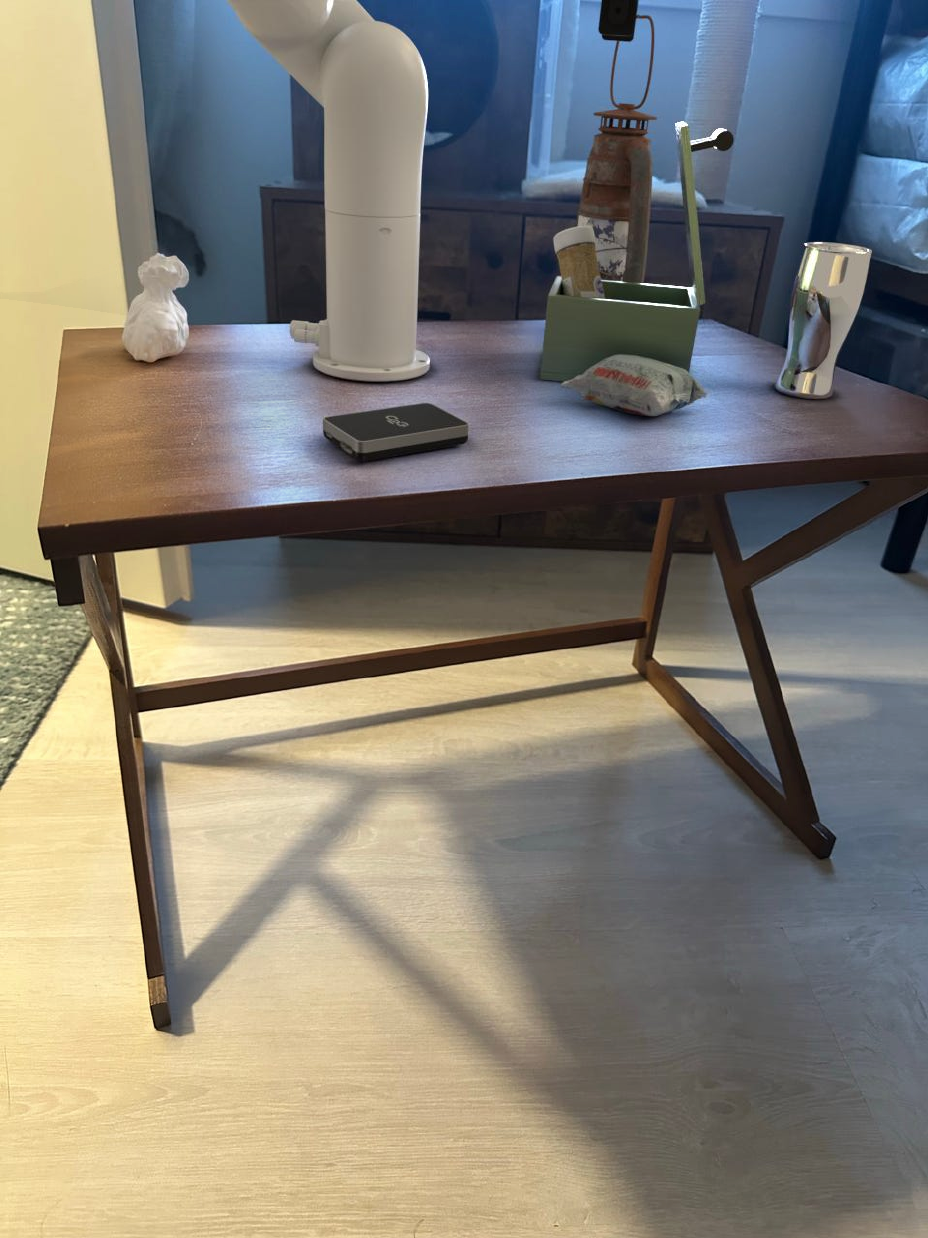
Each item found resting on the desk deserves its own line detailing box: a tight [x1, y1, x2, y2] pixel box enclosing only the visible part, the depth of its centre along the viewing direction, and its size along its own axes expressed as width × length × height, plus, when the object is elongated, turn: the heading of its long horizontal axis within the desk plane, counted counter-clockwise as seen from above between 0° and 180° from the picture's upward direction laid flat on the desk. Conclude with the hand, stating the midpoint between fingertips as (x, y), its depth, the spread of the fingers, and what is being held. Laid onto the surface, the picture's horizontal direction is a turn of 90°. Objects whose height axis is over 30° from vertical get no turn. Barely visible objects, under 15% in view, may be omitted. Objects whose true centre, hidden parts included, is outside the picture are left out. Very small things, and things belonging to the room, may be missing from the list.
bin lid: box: [675, 121, 735, 306], centre depth 95 cm, size 16×12×5 cm
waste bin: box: [539, 275, 701, 383], centre depth 102 cm, size 16×12×9 cm
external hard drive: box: [322, 402, 470, 462], centre depth 79 cm, size 7×11×2 cm, turn 124°
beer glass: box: [775, 241, 873, 400], centre depth 99 cm, size 7×7×15 cm
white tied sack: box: [121, 252, 190, 363], centre depth 98 cm, size 12×8×11 cm
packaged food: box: [560, 354, 708, 417], centre depth 91 cm, size 9×12×5 cm
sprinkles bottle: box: [552, 226, 605, 299], centre depth 103 cm, size 5×5×13 cm
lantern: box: [575, 13, 658, 284], centre depth 111 cm, size 11×16×35 cm
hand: (616, 37), depth 89 cm, fingers open, 9 cm apart
